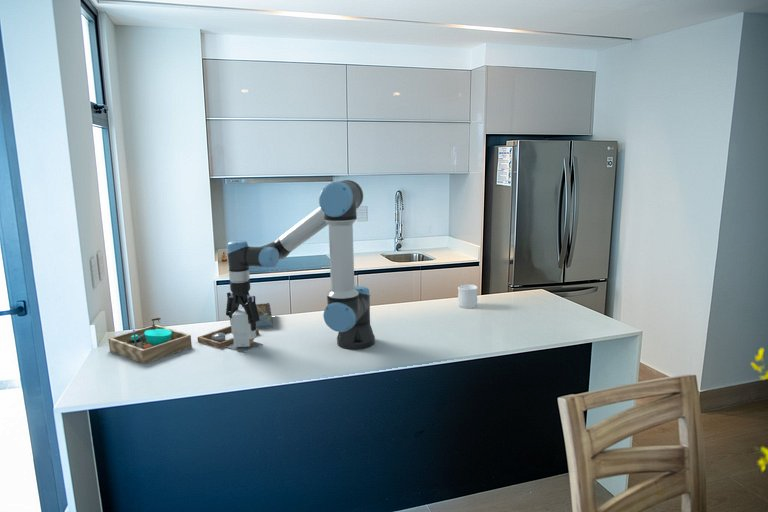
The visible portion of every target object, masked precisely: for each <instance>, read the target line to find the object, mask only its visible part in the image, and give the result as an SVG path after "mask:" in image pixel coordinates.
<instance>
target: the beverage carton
mask: <svg viewBox="0 0 768 512" xmlns="http://www.w3.org/2000/svg"><path fill="white" fill-rule="evenodd" d="M256 306H257V311H258V315H259V319H260V320H259V321H257V322H256V329H259V330H260V329H267V328H268V329H269V328H273V317H272V311H271V310H272V309H271V304H270V302H266V303H258V304H257V303H256Z"/></svg>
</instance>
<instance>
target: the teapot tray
mask: <svg viewBox="0 0 768 512" xmlns="http://www.w3.org/2000/svg"><path fill="white" fill-rule="evenodd" d="M154 325H155V326H153V325H150V326H146V327H143V328H140V329H135V335H138V336H140V335H142V334H144V332H145V331H146V330H154V329H167V330H170V331H171V332H172V335H171V338H170V340H171V341H168V342H165V343H162V344H159V345H156V346H153V347H150V348H147V349H141V348H138V347H136V346H133V345H130V344H129V343H128V341H129V340H131V339H132V338H131V336H133V330H132V331H130V332H126V333H125V332H124V333H122V334H118V335H117V336H113V337H109V338H108V347H109V351H110V352H111V353H115V354H118V355H121V356H123V357H125V358H128V359H130V360H134V361H137V362H138V363H141V364H144V365H145V364H148V363H150V362H151V363H152V362H154V361H157V360H159V359H162V358H165V357H167V356H170V355H173V354H177V353H179V352H182V351H184V350H189V349H191V348H192V347H193V346H192V335H191V334H189V333H185V332H182V331H178V330H176V329H171V328H170V327H169V328H168V327H165V326H161V325H158V324H154ZM145 341H147V340H146V338H145V337H144V338H142V342H145ZM125 342H126V343H125Z"/></svg>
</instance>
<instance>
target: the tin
mask: <svg viewBox="0 0 768 512" xmlns="http://www.w3.org/2000/svg"><path fill="white" fill-rule="evenodd" d="M211 340H213V341H217V342H223V341H226V340H227V339H226V333H215V334H213V335H212V338H211Z"/></svg>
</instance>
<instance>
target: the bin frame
mask: <svg viewBox="0 0 768 512" xmlns="http://www.w3.org/2000/svg"><path fill="white" fill-rule="evenodd" d="M230 332H232V329H231V325H230V326H225V327H223V328H221V329H217V330H215V331H211V332H209V333H206V334H203V335H200V336H197V343H201V344H204V345H207V346H210V347H214V348H217V349H220V350H221V349H222V348H226V346H229V345H232V344H234V339H233V337H231V338H229V339H225V340H226V341H223V342H217V341H213V340H212V335H213V334H215V333H225V334H226V333H230ZM257 335H260V329H256V336H257Z"/></svg>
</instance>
